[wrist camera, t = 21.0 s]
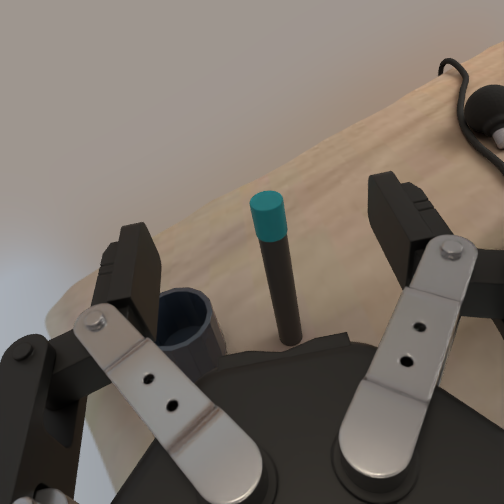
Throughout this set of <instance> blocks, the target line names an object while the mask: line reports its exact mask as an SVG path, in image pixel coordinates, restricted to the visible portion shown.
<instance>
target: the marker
mask: <svg viewBox="0 0 504 504" xmlns="http://www.w3.org/2000/svg"><path fill="white" fill-rule="evenodd" d="M250 208H251V213H252V217H253V222H254V227H255V231H256V235H257V237H258V239H259V243H260V248H261V253H262V257H263V262H264V267H265V271H266V276H267V281H268V285H269V290H270V295H271V299H272V304H273V309H274V313H275V318H276V323H277V327H278V332H279V337H280V340H281V342H282V343H283V344H285V345H288V346H293V345H296V344H298V343H299V342H300V341H301V339H302V330H301V323H300V317H299V310H298V304H297V297H296V290H295V284H294V277H293V271H292V264H291V257H290V251H289V244H288V238H287V230H288V229H287V222H286V215H285V209H284V202H283V197H282V195H281V194H280V193H278V192H276V191H263V192H260V193H257V194H256V195H254V196H253V197H252V198H251V200H250Z"/></svg>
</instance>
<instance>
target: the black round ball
mask: <svg viewBox="0 0 504 504" xmlns="http://www.w3.org/2000/svg"><path fill="white" fill-rule="evenodd" d="M464 117H465V120H466V122H467V124H468V125H469V126H470V127H471V128H472V129H474V130H475V131H478V132H482V133H485V135H486V136H489V137H493V138H494V141H495V143H496V145H497V147H498V148H500V149H503V148H504V86H501V85H488V86H484V87H482V88H480V89H478V90H477V91H475V92H474V93H473V94H472V95H471V96H470V97H469V99H468V100H467V102H466V105H465V108H464Z"/></svg>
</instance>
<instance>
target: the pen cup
mask: <svg viewBox="0 0 504 504" xmlns="http://www.w3.org/2000/svg"><path fill="white" fill-rule="evenodd" d="M154 343H155V344H156V345H157V346H158V347H159V348H160V349H161V350H162V351H163V352H164V353H165V354H166V355H167V357H168V358H169V359H170V360H171V361H172V362H173V363H174V364H175V365H176V366H177V367H178V368H179V369H180V370H181V371H182V372H183V373H184V374H185V375H186V376H187V377H188V378H189V379H190V380H191V381H192V382H193V383H195V382H196V381H197V380H198V379H199V378H200V377H202V376H203V375H204V374H206V373H207V372H209V371H211V370H212V369H214V368H217V357H220V356H225V355H226V344H225V341H224V338H223V334H222V332H221V329H220V326H219V323H218V321H217V318H216V315H215V313H214V310H213V307H212V304H211V302H210V299H209V298H208V297H207V296H206V295H205V294H204V293H203V292H201V291H199V290H196V289H193V288H189V287H188V288H174V289H171V290H168V291H165V292H162V293H160V296H159V309H158V322H157V335H156V342H154Z"/></svg>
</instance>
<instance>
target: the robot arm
mask: <svg viewBox="0 0 504 504" xmlns="http://www.w3.org/2000/svg"><path fill="white" fill-rule="evenodd" d="M446 64H451V65H452V66H454V67H455V68H456V69H457V70H458V72H459V73H460V74H461V76H462V78H463V82H462V85H461V87H460V91H459V98H458V103H457V116H458V121H459V124H460V127H461V129H462V131H463V133H464V135H465V136H466V138H467V139H468V141H469V142H470V143H471V144H472V146H473V147H474V148H475V149H476V150H477V151H479V152H480V153H481V154H482V155H483V156H485V157H486V158H487V159H488V160H490V161H491V162H492V163H493V164H494V165H495V166H496V167H497V168H498V169H499V170H500V171H501V172H502V174H503V175H504V162H503V161H502V160H501V159H499V158H498V157H497V156H496V155H495V154H493V153H492V152H491V151H490V150H488V149H487V148H486V147H484V146H483V145H482V144H481V143H480V142H479V141H478V140H477V138H476V137H475V136H474V134H473V133H472V132H471V130H470V128H469V126H468V124H467V122H466V120H465V117H464V101H465V93H466V88H467V85H468V82H469V75H468V73H467V72H466V70H465V69H464V68H463V67H462V66H461V65H460V64H459V63H458V62H457V61H456V60H454V59H451V58H447V59H444V60H443V61H442V62H441V63H440V66H439V70H438V76H440V75H442V74H443V71H444V67H445V65H446ZM368 217H369V222H370V225H371V228H372V230H373V232H374V234H375V236H376V238H377V240H378V242H379V244H380V246H381V248H382V250H383V252H384V254H385V256H386V258H387V260H388V262H389V264H390V266H391V268H392V270H393V272H394V274H395V276H396V278H397V280H398V282H399V284H400V286H401V288H402V290H403V292H402V294H401V296H400V298H399V301H398V303H397V305H396V307H395V310H394V312H393V314H392V317H391V319H390V321H389V323H388V326H387V328H386V330H385V333H384V335H383V337H382V339H381V342H380V344H379V346H378V347H375V346H372V345H369V344H365V343H360V342H350V340H349V337H348V334H347V332H344V333H339V334H334V335H329V336H323V337H318V338H314V339H312V340H309V341H307V342H305V343H303V344H300V345H298V346H296V347H294V348H291V349H289V350H287V351H284V352H264V351H246V352H240V353H235V354H230V355H225V356H220V357H217V368H214V369H212V370H211V371H209V372H207V373H206V374H204V375H203V376H202V377H200V378H199V379H198V380H197V381H196V382H195V383H193V382H192V381H191V380H190V379H189V378H188V377H187V376H186V375H185V374H184V373H183V372H182V371H181V370H180V369H179V368H178V367H177V366H176V365H175V364H174V363H173V362H172V361H171V360H170V359H169V358H168V357H167V355H166V354H165V353H164V352H163V351H162V350H161V349H160V348H159V347H158V346H157V345H156V344H155V343H154V342H156V335H157V322H158V309H159V296H160V282H161V260H160V256H159V253H158V251H157V249H156V246H155V244H154V242H153V240H152V238H151V235H150V233H149V231H148V229H147V227H146V225H145V223H144V222H140V223H136V224H130V225H126V226H122V227H121V231H120V237H119V241H118V242H113V243H110V245H109V246H108V248H107V249H106V250H105V252H104V253H103V256H102V260H101V264H100V265H101V267H100V269H99V273H98V275H99V276H98V277H97V282H96V286H95V290H94V295H93V299H92V303H91V307H90V308H88V309H86V310H85V311H84V312H82V313H81V314H80V315H79V317H78V318H77V320H76V321H75V324H74V327H73V329H72V330H70V331H68V332H66V333H64V334H62V335H60V336H57V337H55V338H53V339H51V340H49V341H48V340H47V339H46V338H45V337H44V336H42V335H39V334H31V335H27V336H24V337H22V338H20V339H18V340H17V341H15V342H14V343H13V344H12V345H11V346H10V347H9V348H8V349H7V350H6V351H5V353H4V355H3V356H2V359H1V362H0V504H79V503H77V502H76V501H74V500H73V499H74V491H75V485H76V477H77V470H78V462H79V454H80V447H81V440H82V432H83V426H84V418H85V411H86V403H87V396H88V395H89V394H91V393H93V392H95V391H97V390H99V389H100V388H102V387H104V386H106V385H108V384H110V383H113V384H114V385H115V387H116V388H117V389H118V390H119V392H120V393H121V394H122V395H123V397H124V398H125V399H126V401H127V402H128V403H129V404H130V406H131V407H132V408H133V409H134V411H135V412H136V413H137V414H138V416H139V417H140V418H141V420H142V421H143V422H144V423H145V425H146V426H147V427H148V428H149V430H150V431H151V432H152V434H153V435H154V436H155V439H154V440H153V442H152V443H151V445H150V446H149V448H148V449H147V451H146V452H145V454H144V455H143V457H142V458H141V459H140V461H139V462H138V464H137V465H136V467H135V468H134V470H133V471H132V473H131V474H130V476H129V477H128V478H127V480H126V481H125V483H124V484H123V486H122V487H121V489H120V490H119V492H118V493H117V495H116V496H115V498H114V499H113V500H112V502H111V504H504V429H502V428H501V427H499V426H498V425H496V424H495V423H493V422H492V421H490V420H489V419H487V418H486V417H484V416H483V415H481V414H480V413H478V412H477V411H475V410H474V409H472V408H471V407H469V406H468V405H466V404H465V403H463V402H462V401H460V400H459V399H457V398H456V397H454V396H453V395H451V394H450V393H448V392H447V391H445V390H444V389H442V388H441V387H440V384H441V381H442V378H443V374H444V371H445V367H446V364H447V360H448V357H449V354H450V351H451V348H452V344H453V341H454V338H455V335H456V332H457V328H458V325H459V322H460V319H461V316H467V317H480V318H492V320H493V322H494V324H495V325H496V327H497V329H498V330H499V332H500V334H501V336H502V337H503V339H504V250H485V249H478V248H476V247H475V245H474V244H473V243H472V242H471V241H469V240H468V239H466V238H463V237H461V236H457V235H454V234H453V233H452V231H451V230H450V229H449V227H448V226H447V224H446V223H445V222H444V220H443V219H442V217H441V216H440V215H439V213H438V212H437V210H436V209H434V206H433V205H432V203H431V202H430V201H428V198H427V196H426V195H425V194H424V192H423V191H422V189H420V188H418V187H417V186H415V185H413V184H412V183H410V182H407V183H402V184H401V183H400V182H399V180H398V179H397V177H396V176H395V174H394V173H393V172H392V171H389V172H384V173H379V174H374V175H370V176H369V179H368Z"/></svg>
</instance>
